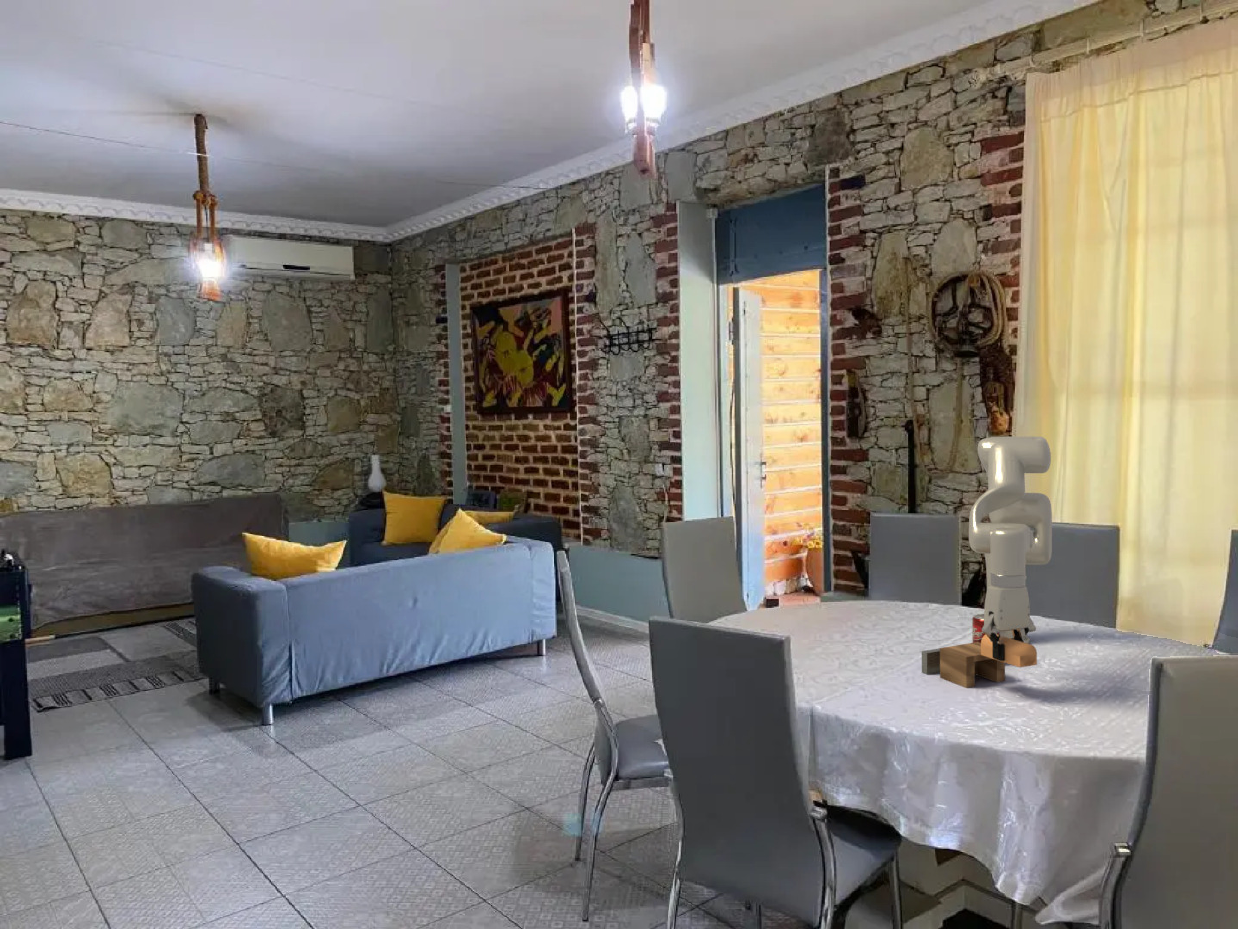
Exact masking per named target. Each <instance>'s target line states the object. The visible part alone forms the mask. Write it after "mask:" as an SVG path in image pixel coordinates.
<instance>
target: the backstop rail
mask: <svg viewBox="0 0 1238 929" xmlns="http://www.w3.org/2000/svg"><path fill="white" fill-rule="evenodd" d="M940 648H941V647H939V648H933V649H928V650H927V649H926V650H922V651H921V674H924V675H926V676H928V675H932V674H938V673H939V674H940Z"/></svg>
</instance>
